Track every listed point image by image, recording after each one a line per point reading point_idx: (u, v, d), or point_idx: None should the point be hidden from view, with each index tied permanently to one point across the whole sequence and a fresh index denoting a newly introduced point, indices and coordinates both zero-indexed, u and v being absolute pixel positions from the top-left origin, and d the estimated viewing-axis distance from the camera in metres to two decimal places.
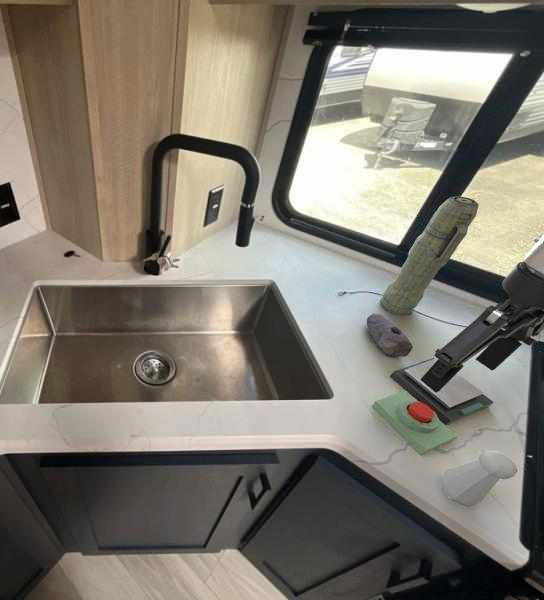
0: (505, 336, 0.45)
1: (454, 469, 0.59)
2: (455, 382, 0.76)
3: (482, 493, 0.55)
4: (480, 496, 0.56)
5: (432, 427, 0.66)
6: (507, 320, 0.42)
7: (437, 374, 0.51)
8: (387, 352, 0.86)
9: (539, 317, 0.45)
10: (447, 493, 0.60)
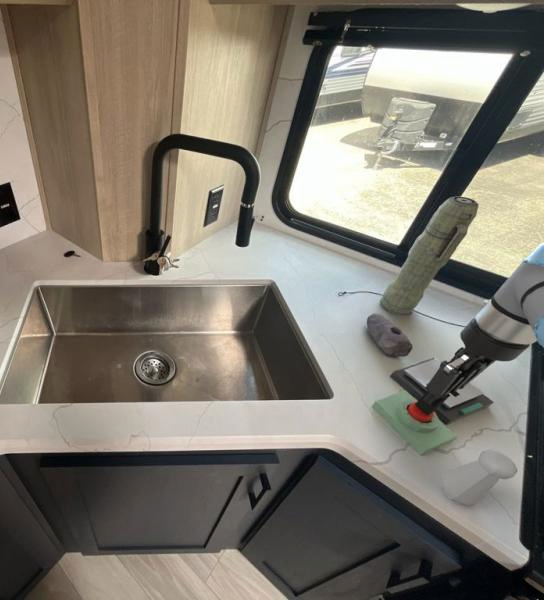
0: (467, 376, 0.58)
1: (454, 469, 0.59)
2: None
3: (482, 493, 0.55)
4: (480, 496, 0.56)
5: (432, 427, 0.66)
6: (455, 374, 0.55)
7: (427, 402, 0.65)
8: (387, 352, 0.86)
9: (490, 360, 0.56)
10: (447, 493, 0.60)
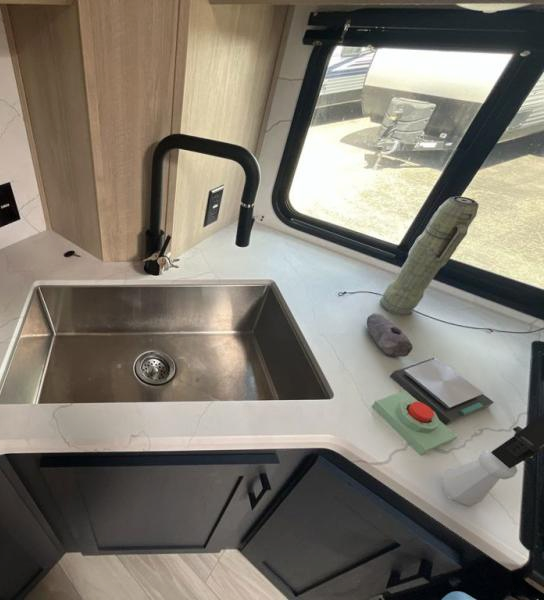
0: None
1: (454, 469, 0.59)
2: (455, 382, 0.76)
3: (482, 493, 0.55)
4: (480, 496, 0.56)
5: (432, 427, 0.66)
6: None
7: (514, 452, 0.48)
8: (387, 352, 0.86)
9: None
10: (447, 493, 0.60)
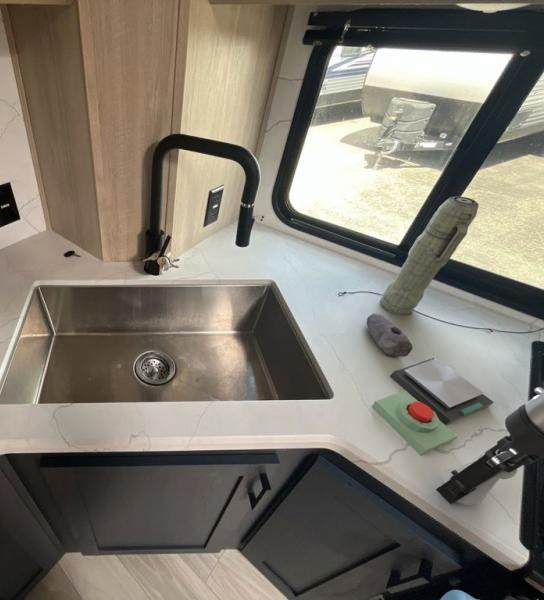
0: (510, 471, 0.50)
1: (454, 469, 0.59)
2: (455, 382, 0.76)
3: (482, 493, 0.55)
4: (480, 496, 0.56)
5: (432, 427, 0.66)
6: (503, 469, 0.47)
7: (452, 491, 0.56)
8: (387, 352, 0.86)
9: None
10: None
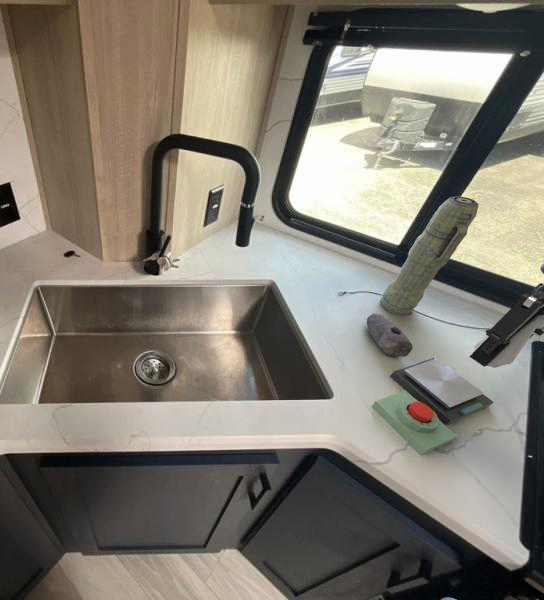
0: None
1: None
2: (455, 382, 0.76)
3: (515, 349, 0.59)
4: (513, 353, 0.60)
5: (432, 427, 0.66)
6: (540, 305, 0.51)
7: (487, 350, 0.60)
8: (387, 352, 0.86)
9: None
10: None
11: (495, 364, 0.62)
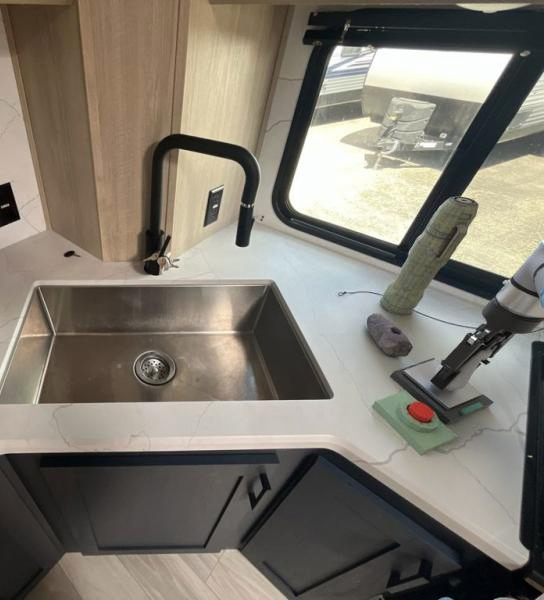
0: None
1: None
2: None
3: (465, 376, 0.71)
4: (464, 379, 0.71)
5: (432, 427, 0.66)
6: (479, 343, 0.62)
7: (442, 377, 0.72)
8: (387, 352, 0.86)
9: (508, 335, 0.64)
10: None
11: (450, 388, 0.73)
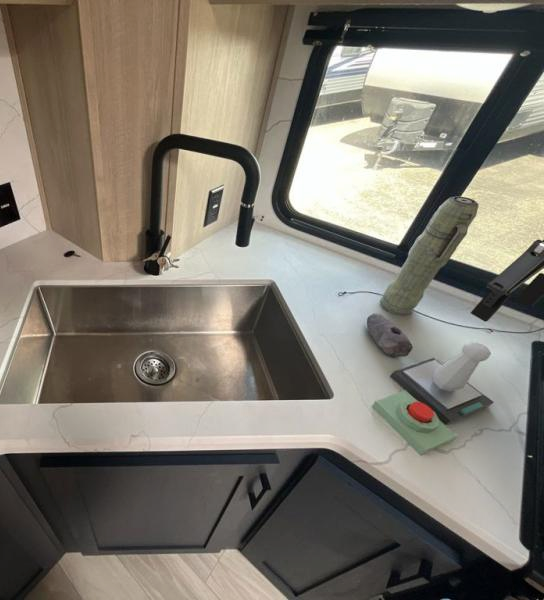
0: None
1: (443, 364, 0.75)
2: None
3: (465, 377, 0.71)
4: (463, 380, 0.71)
5: (432, 427, 0.66)
6: None
7: (488, 304, 0.60)
8: (387, 352, 0.86)
9: None
10: (438, 384, 0.75)
11: (449, 389, 0.73)
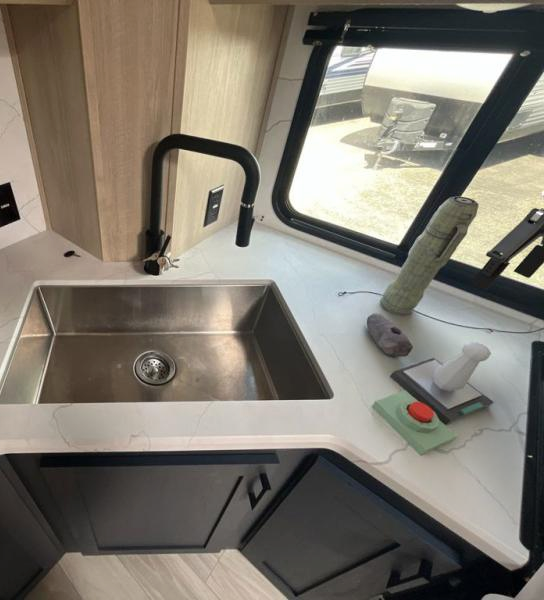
0: None
1: (443, 364, 0.75)
2: None
3: (465, 377, 0.71)
4: (463, 380, 0.71)
5: (432, 427, 0.66)
6: None
7: (487, 273, 0.63)
8: (387, 352, 0.86)
9: None
10: (438, 384, 0.75)
11: (449, 389, 0.73)
